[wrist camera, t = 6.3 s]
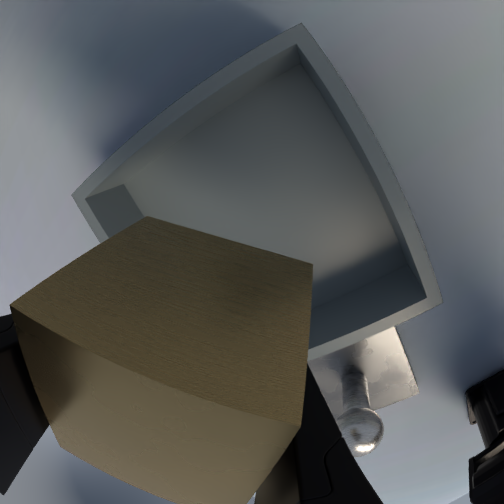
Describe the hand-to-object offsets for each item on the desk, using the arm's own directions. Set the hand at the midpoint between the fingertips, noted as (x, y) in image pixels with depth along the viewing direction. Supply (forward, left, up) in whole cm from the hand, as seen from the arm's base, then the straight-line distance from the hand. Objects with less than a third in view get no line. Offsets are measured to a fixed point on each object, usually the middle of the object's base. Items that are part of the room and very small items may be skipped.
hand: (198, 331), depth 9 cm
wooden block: (0, 0, -1) cm, 1 cm away
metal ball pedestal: (-14, 0, -12) cm, 19 cm away
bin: (0, 0, -12) cm, 12 cm away
